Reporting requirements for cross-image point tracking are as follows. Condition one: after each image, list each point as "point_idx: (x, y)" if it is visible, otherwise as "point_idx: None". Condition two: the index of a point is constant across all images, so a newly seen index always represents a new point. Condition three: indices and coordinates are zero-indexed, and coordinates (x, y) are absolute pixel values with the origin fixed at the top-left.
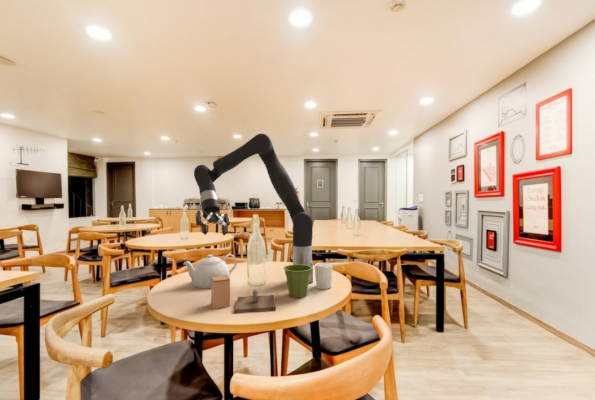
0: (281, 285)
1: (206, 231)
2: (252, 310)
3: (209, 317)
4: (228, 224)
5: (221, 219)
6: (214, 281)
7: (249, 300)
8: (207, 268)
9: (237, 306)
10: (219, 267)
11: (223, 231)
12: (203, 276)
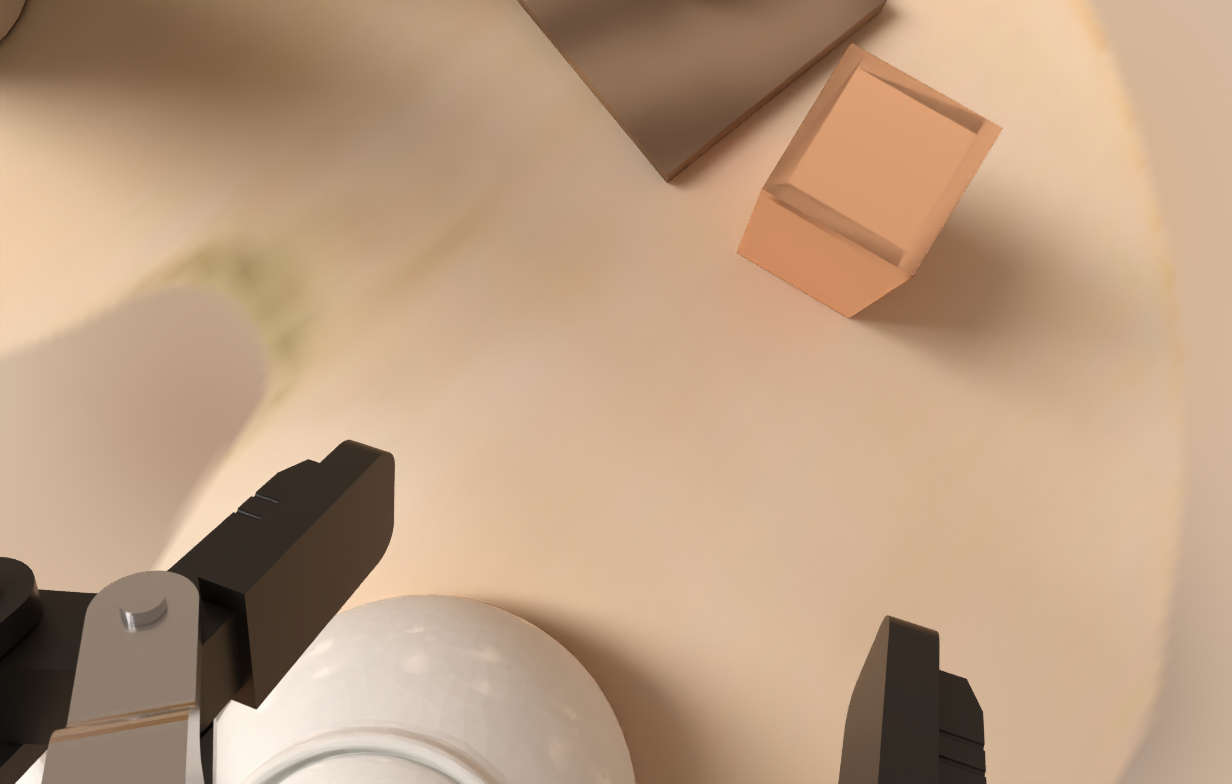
0: (153, 83)
1: (919, 632)
2: None
3: (1040, 119)
4: (30, 570)
5: (131, 766)
6: (997, 128)
7: (680, 28)
8: (542, 764)
9: (832, 24)
10: (411, 677)
11: (345, 550)
12: (606, 742)
